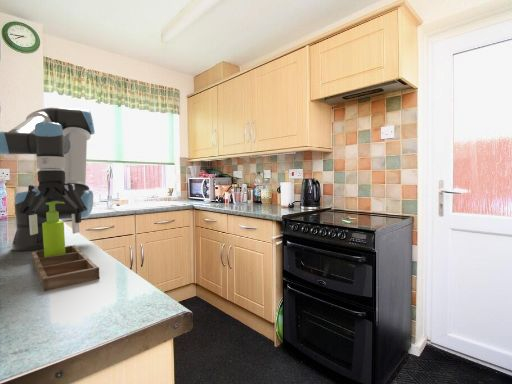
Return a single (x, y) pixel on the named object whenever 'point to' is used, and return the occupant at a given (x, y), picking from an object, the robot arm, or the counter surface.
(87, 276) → the pocket rack
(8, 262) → the counter surface
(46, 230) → the soap dispenser
